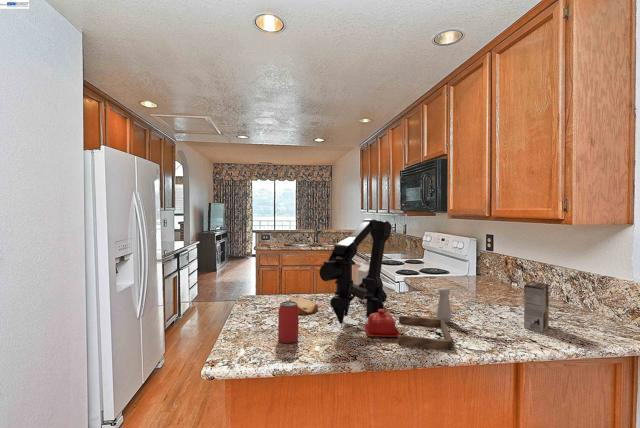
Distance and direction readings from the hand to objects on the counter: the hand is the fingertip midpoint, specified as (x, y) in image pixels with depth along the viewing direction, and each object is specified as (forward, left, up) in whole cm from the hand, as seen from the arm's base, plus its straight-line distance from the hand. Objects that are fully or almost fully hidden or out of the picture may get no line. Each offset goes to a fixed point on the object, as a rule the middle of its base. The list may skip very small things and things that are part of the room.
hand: (343, 319), depth 117 cm
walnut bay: (+28, 0, -2) cm, 28 cm away
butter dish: (+14, -3, -3) cm, 15 cm away
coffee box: (+70, +20, -3) cm, 73 cm away
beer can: (-15, -18, -3) cm, 24 cm away
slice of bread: (-23, +18, -3) cm, 29 cm away
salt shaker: (+37, +17, -3) cm, 41 cm away
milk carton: (+5, +37, -3) cm, 37 cm away
